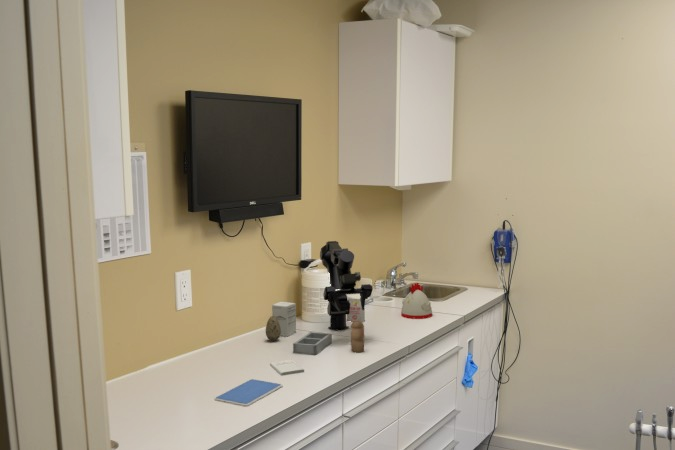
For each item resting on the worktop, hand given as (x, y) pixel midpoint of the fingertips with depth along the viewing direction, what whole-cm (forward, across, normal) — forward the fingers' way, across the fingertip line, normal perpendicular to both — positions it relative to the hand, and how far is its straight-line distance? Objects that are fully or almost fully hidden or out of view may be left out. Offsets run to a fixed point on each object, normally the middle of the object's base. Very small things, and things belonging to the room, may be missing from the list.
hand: (351, 310), depth 250 cm
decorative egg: (0, -29, +20) cm, 35 cm away
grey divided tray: (+9, -15, +10) cm, 20 cm away
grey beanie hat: (-17, +39, +37) cm, 56 cm away
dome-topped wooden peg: (+15, 0, +4) cm, 16 cm away
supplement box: (-7, -23, +26) cm, 35 cm away
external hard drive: (+25, -28, -6) cm, 38 cm away
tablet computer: (+40, -43, -20) cm, 62 cm away
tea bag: (-15, +10, +35) cm, 39 cm away
